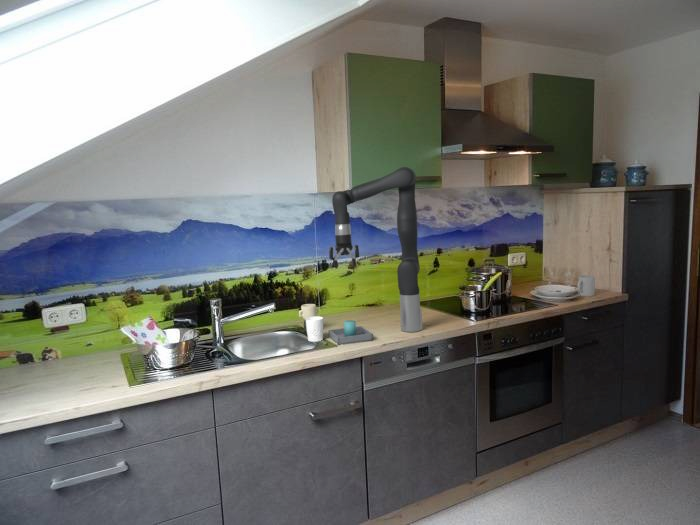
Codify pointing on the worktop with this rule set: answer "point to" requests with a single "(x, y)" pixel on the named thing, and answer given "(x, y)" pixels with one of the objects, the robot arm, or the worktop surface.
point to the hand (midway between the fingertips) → (344, 267)
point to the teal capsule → (350, 328)
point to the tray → (340, 338)
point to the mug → (586, 285)
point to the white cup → (314, 328)
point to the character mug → (308, 312)
